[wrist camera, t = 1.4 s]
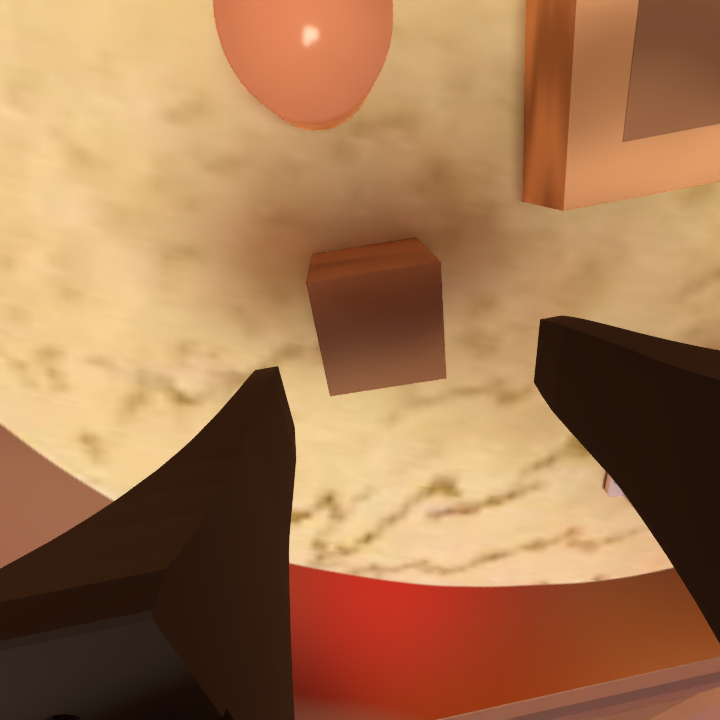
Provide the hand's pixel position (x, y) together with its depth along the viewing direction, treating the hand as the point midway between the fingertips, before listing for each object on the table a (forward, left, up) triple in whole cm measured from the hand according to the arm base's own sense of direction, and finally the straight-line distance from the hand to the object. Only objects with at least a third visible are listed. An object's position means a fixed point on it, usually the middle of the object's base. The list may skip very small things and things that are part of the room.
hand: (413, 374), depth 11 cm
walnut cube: (-1, 0, -10) cm, 10 cm away
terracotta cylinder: (+9, +1, -10) cm, 14 cm away
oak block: (+7, -12, -10) cm, 17 cm away
